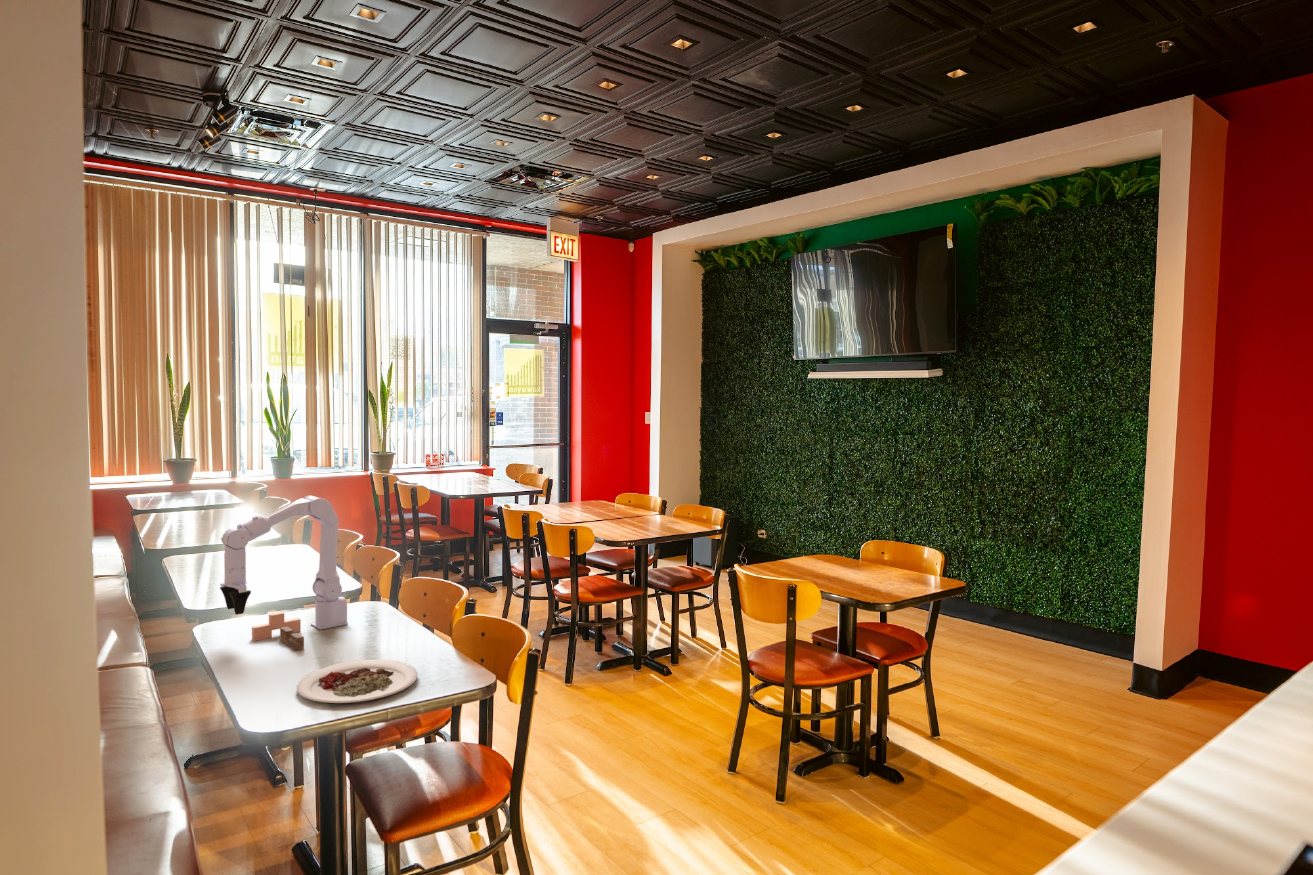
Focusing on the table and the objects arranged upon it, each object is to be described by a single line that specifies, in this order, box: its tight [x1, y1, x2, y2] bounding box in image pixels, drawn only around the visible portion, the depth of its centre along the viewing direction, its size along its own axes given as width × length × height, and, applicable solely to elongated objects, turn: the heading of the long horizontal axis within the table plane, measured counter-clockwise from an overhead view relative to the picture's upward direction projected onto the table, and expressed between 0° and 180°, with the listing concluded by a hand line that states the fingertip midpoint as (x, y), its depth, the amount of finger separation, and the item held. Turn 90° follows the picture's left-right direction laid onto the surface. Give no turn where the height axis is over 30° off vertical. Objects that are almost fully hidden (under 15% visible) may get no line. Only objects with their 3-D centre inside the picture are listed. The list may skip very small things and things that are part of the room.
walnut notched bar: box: [279, 627, 305, 652], centre depth 229 cm, size 2×14×4 cm, turn 46°
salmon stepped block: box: [251, 611, 302, 641], centre depth 238 cm, size 14×2×7 cm, turn 136°
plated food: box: [296, 659, 418, 704], centre depth 198 cm, size 30×30×3 cm
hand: (235, 611), depth 229 cm, fingers open, 7 cm apart
